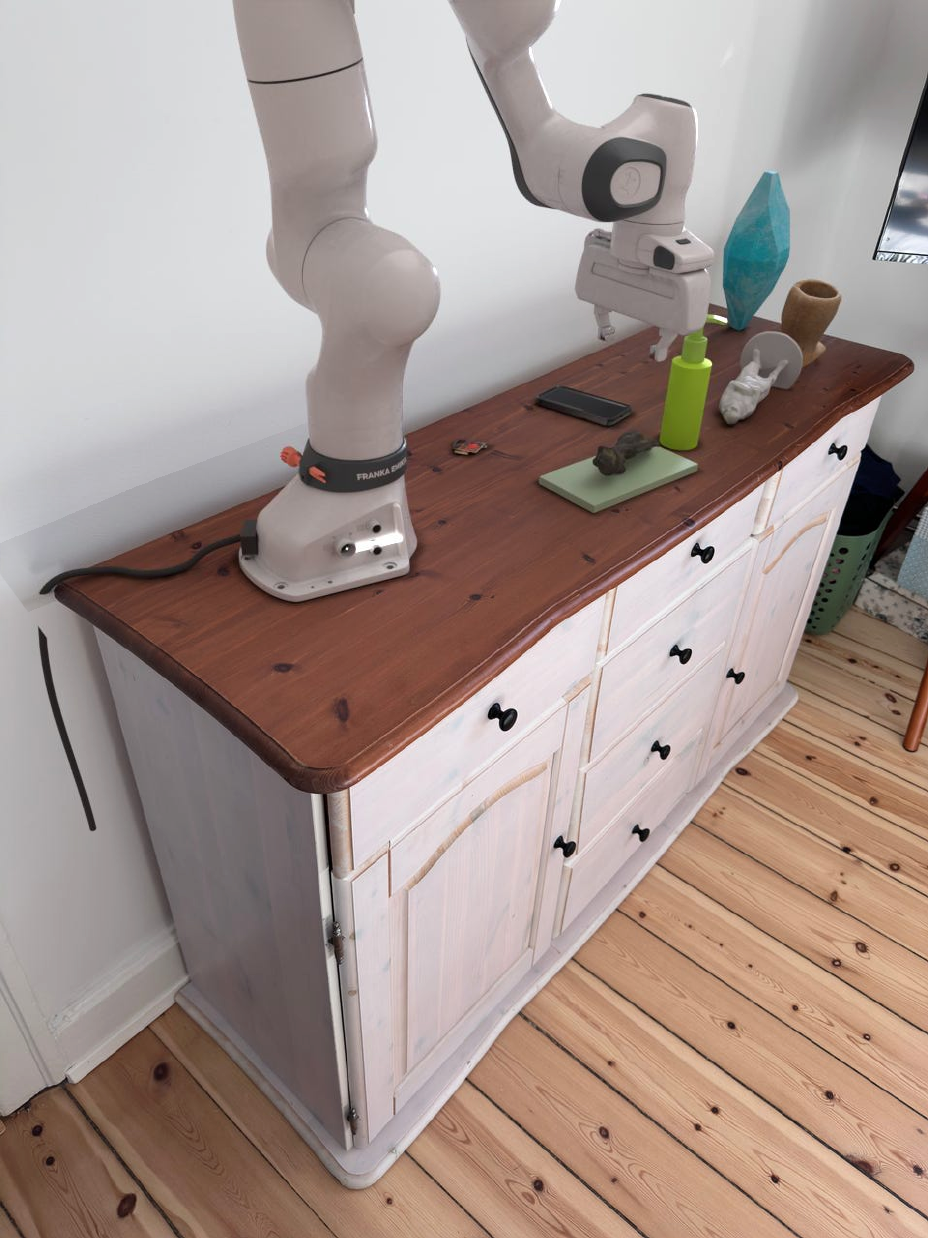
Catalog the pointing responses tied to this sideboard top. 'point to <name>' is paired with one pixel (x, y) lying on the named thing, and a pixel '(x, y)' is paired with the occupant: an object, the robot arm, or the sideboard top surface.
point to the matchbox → (467, 446)
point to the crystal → (756, 250)
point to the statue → (622, 452)
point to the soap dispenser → (687, 392)
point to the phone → (584, 405)
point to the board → (617, 478)
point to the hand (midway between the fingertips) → (630, 349)
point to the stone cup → (809, 315)
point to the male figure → (761, 373)
